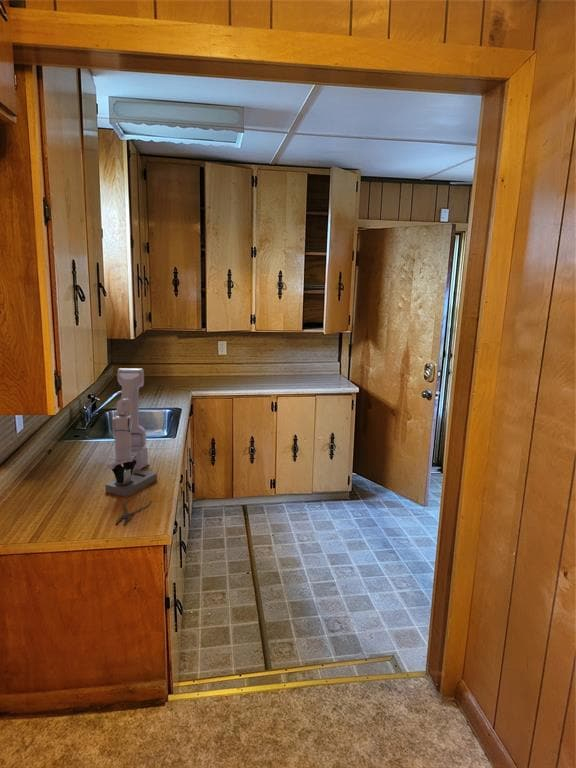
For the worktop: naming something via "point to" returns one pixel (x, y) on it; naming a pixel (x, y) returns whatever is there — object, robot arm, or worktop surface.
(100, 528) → the worktop surface
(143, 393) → the worktop surface
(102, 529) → the worktop surface
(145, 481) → the socket plate
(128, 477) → the peg
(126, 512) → the pliers
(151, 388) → the worktop surface
